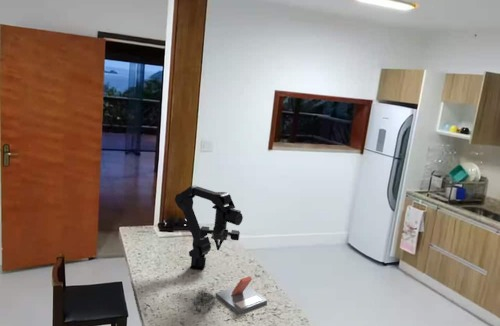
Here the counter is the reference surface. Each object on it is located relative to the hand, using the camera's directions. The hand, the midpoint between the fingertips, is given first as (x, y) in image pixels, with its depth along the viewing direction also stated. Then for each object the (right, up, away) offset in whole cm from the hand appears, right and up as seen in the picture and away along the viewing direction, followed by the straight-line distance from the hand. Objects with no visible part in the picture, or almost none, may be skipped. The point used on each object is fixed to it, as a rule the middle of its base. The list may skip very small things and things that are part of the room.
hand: (218, 249), depth 191 cm
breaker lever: (+10, -15, -15) cm, 24 cm away
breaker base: (+11, -18, -17) cm, 27 cm away
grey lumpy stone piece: (-4, -18, -24) cm, 30 cm away
